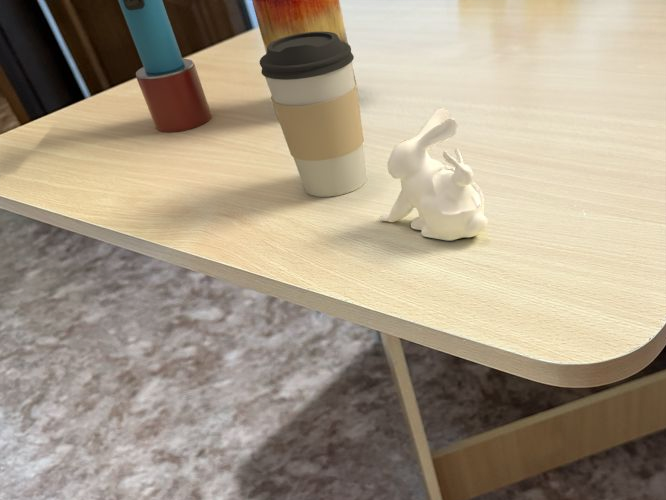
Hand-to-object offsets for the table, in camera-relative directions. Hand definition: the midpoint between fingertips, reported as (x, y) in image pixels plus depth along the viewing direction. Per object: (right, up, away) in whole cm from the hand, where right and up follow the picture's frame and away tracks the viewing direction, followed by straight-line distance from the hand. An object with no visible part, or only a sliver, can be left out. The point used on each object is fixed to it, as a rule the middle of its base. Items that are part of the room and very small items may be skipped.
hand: (140, 2), depth 86 cm
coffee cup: (+27, -25, -11) cm, 38 cm away
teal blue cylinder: (+1, -6, +5) cm, 8 cm away
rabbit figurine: (+39, -31, -20) cm, 54 cm away
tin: (+2, -12, +9) cm, 15 cm away
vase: (+20, -9, +10) cm, 25 cm away
